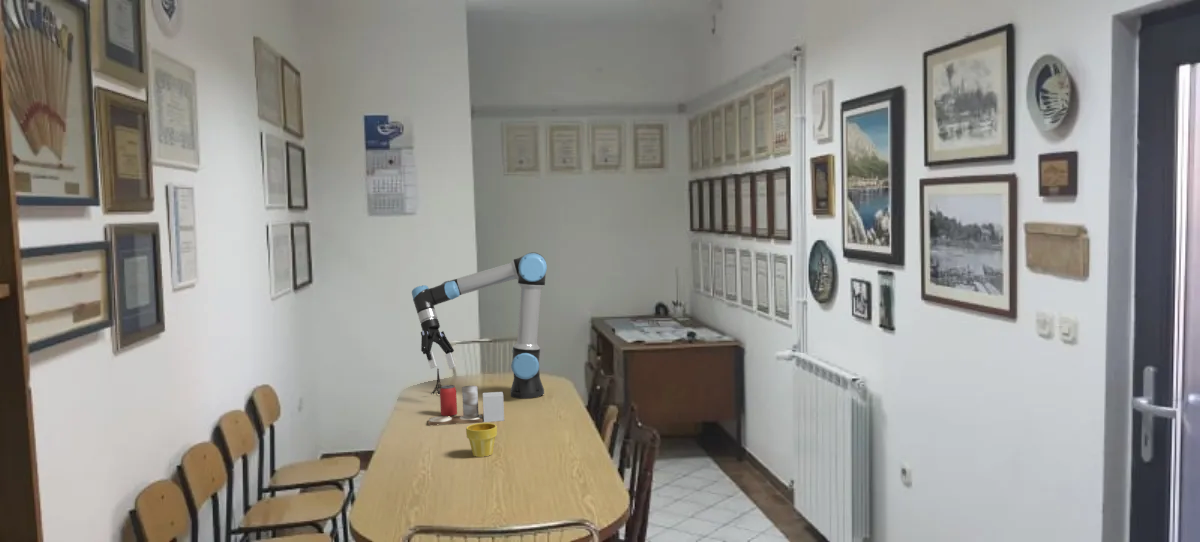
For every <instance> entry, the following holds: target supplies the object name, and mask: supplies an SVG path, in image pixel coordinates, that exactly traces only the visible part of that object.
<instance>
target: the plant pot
mask: <svg viewBox="0 0 1200 542" xmlns="http://www.w3.org/2000/svg"><path fill="white" fill-rule="evenodd" d="M465 432H466V438H467V439H468V441H469V445H470V449H471V452H472V456H473V457H475V456H476V458H485V457H484V456H487V457H490V456H492V455H493V454H494V448H495V446H494V445H495V443H496V442H495V440H496V438H497V435H498V426H497V425H496V424H495V423H492V422H479V423H472V424H469V425H468V426H466V427H465ZM489 455H490V456H489Z"/></svg>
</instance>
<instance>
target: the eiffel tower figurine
mask: <svg viewBox="0 0 1200 542" xmlns="http://www.w3.org/2000/svg"><path fill="white" fill-rule="evenodd" d="M439 370H440V369H439V368H437V370H436V372H437V373H436V375H437V376H436V385H435V387H434V389H433V391H432V392H431V394H432V393H438V394H440V390H441V386H442V383H441V378H440V371H439Z"/></svg>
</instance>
